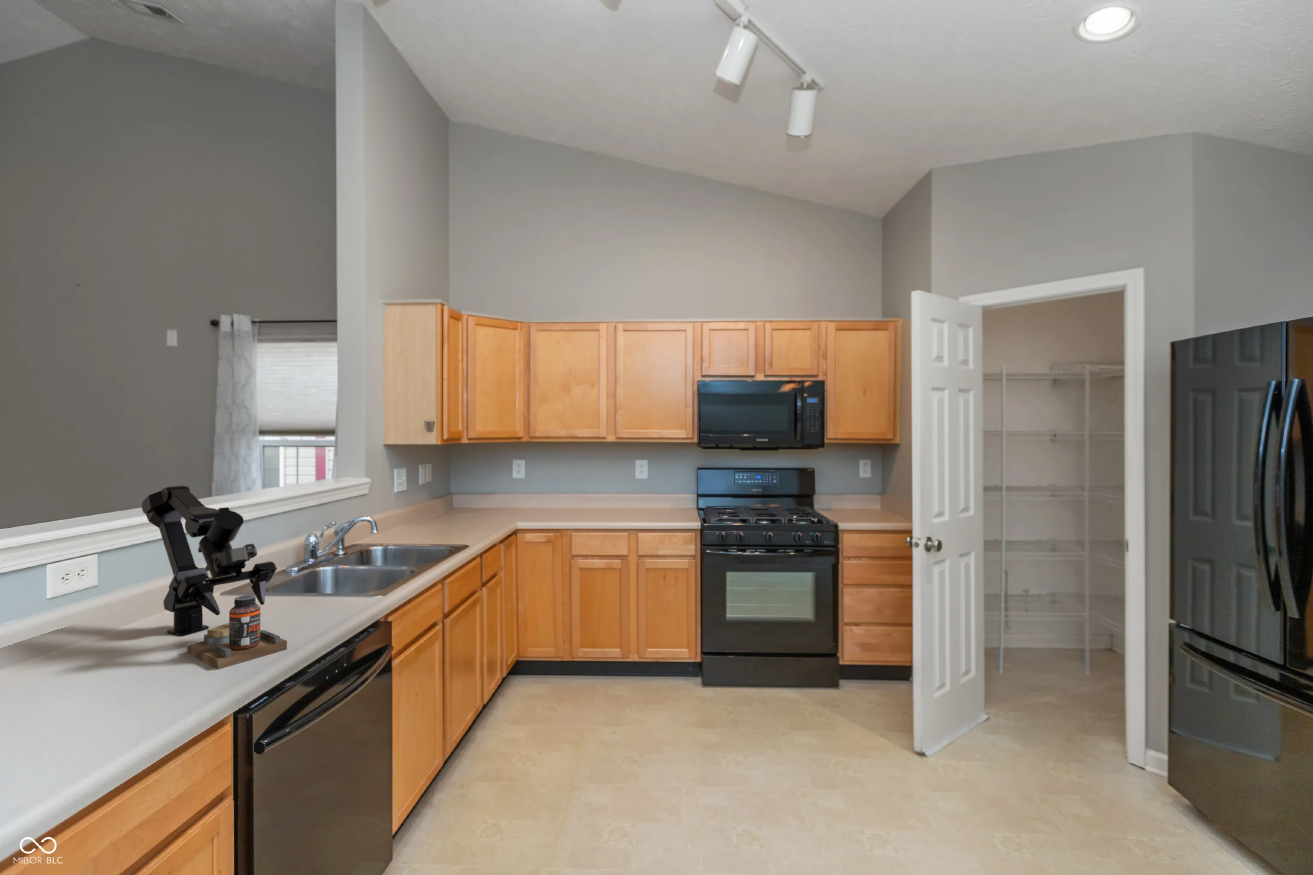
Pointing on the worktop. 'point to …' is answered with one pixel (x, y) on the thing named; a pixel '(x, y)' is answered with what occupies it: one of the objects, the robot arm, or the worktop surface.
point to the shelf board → (222, 656)
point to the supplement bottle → (244, 623)
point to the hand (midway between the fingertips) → (241, 608)
